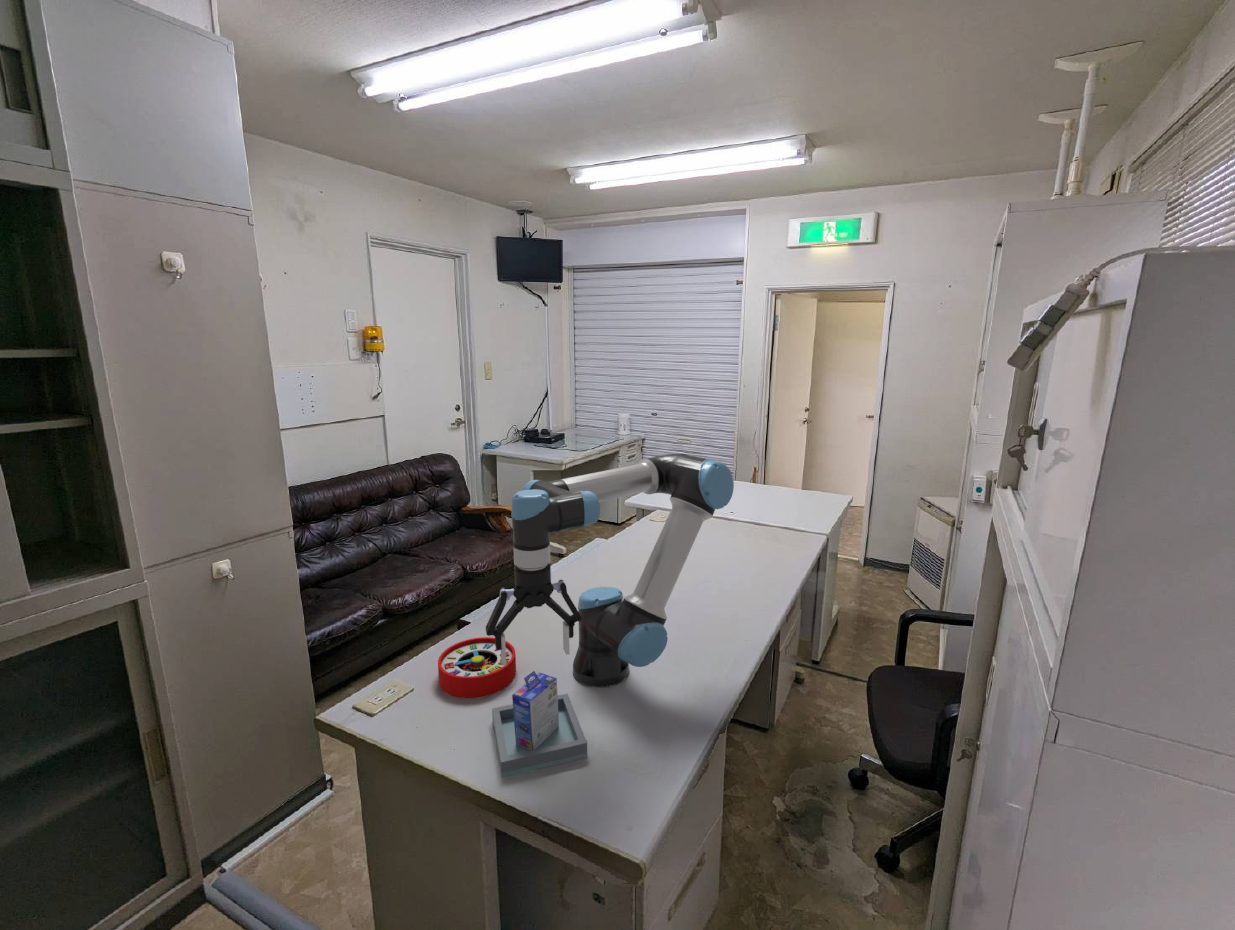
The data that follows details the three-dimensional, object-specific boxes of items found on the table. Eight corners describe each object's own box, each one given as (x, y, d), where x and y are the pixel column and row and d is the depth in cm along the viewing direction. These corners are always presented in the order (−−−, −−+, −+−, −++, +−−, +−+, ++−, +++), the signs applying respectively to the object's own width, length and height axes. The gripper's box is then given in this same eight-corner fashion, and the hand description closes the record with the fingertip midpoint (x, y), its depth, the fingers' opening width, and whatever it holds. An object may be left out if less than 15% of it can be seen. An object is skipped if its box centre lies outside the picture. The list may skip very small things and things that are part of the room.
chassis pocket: (567, 706, 133) (567, 693, 132) (587, 757, 116) (587, 742, 116) (492, 721, 127) (491, 708, 127) (501, 777, 111) (501, 762, 110)
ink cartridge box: (540, 718, 127) (538, 661, 124) (560, 725, 125) (558, 668, 122) (513, 744, 119) (510, 684, 116) (533, 753, 116) (531, 692, 113)
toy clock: (522, 668, 140) (441, 685, 132) (523, 688, 141) (442, 707, 133) (507, 631, 158) (434, 645, 150) (508, 650, 159) (436, 664, 151)
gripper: (585, 551, 121) (586, 638, 125) (469, 564, 113) (475, 657, 118) (594, 563, 114) (595, 655, 118) (471, 578, 106) (477, 676, 111)
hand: (535, 656), depth 118 cm, fingers open, 13 cm apart
